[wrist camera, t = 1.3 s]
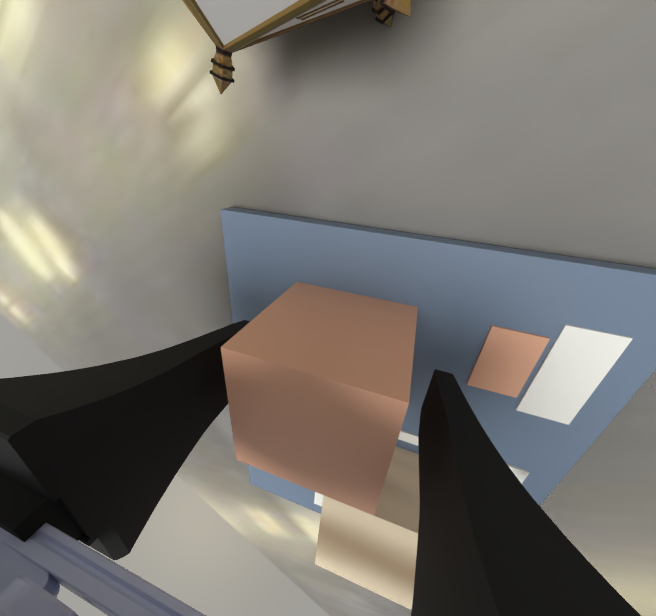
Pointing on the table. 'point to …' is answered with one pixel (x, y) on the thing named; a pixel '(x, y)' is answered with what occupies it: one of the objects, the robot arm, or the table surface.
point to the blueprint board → (471, 329)
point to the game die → (268, 23)
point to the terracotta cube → (322, 390)
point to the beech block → (376, 535)
